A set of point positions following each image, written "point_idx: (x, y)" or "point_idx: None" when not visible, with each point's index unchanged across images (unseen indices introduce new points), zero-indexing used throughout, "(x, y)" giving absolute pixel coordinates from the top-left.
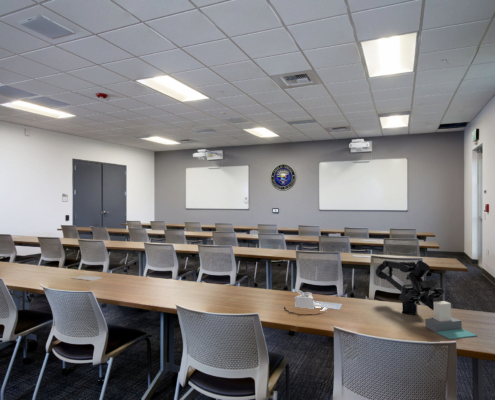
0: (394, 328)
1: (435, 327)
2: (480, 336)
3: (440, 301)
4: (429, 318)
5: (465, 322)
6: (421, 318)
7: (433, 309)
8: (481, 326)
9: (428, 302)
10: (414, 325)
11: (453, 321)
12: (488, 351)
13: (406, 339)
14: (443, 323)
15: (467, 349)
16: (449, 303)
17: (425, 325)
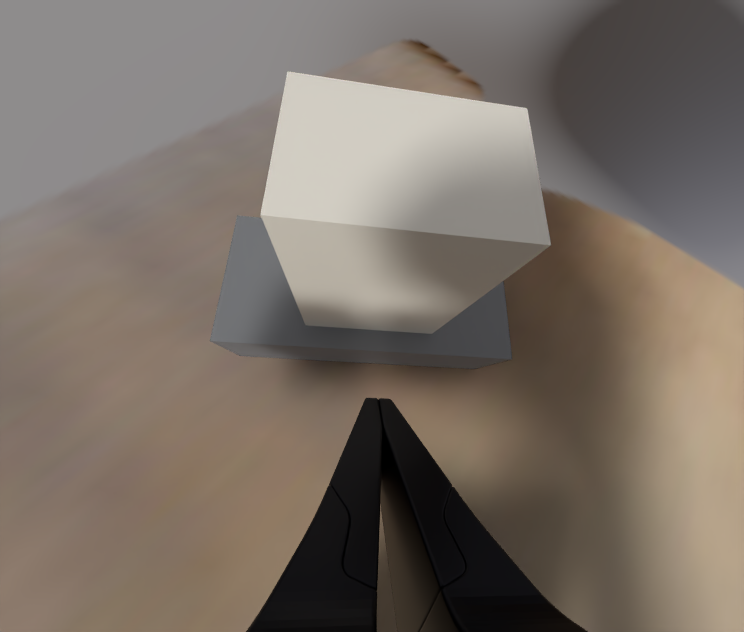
0: (695, 420)
1: None
2: (264, 144)
3: (381, 218)
4: (468, 354)
5: (63, 359)
6: None
7: (388, 404)
8: (53, 248)
9: (459, 504)
10: (530, 431)
11: None
12: (397, 47)
13: (678, 249)
14: None
15: (465, 85)
16: (319, 78)
17: (481, 366)
